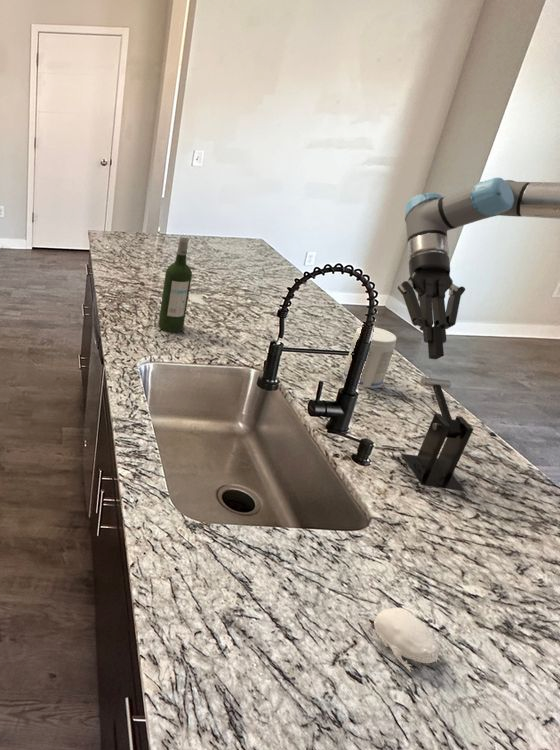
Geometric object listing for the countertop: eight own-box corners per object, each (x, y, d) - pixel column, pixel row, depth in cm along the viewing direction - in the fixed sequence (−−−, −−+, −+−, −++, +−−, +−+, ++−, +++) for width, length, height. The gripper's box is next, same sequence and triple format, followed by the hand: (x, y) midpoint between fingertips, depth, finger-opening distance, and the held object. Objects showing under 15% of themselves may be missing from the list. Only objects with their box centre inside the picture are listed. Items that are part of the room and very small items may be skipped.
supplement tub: (373, 375, 149) (390, 328, 143) (386, 393, 141) (404, 343, 135) (336, 371, 151) (351, 324, 144) (347, 388, 142) (363, 339, 136)
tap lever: (418, 381, 115) (424, 374, 113) (444, 384, 114) (450, 377, 113) (435, 435, 107) (442, 429, 105) (463, 439, 106) (470, 433, 104)
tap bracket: (399, 457, 117) (420, 404, 111) (439, 463, 116) (463, 409, 110) (419, 489, 108) (444, 433, 102) (462, 495, 107) (490, 439, 101)
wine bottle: (174, 320, 178) (188, 232, 165) (187, 331, 171) (203, 239, 158) (153, 323, 176) (166, 233, 163) (165, 333, 169) (179, 241, 156)
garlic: (447, 663, 75) (457, 646, 74) (409, 676, 73) (419, 659, 72) (398, 613, 82) (406, 596, 80) (363, 624, 80) (371, 607, 79)
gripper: (449, 268, 124) (459, 365, 116) (389, 263, 126) (394, 358, 118) (470, 253, 117) (481, 355, 109) (406, 247, 119) (412, 348, 111)
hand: (436, 357), depth 114 cm, fingers closed
